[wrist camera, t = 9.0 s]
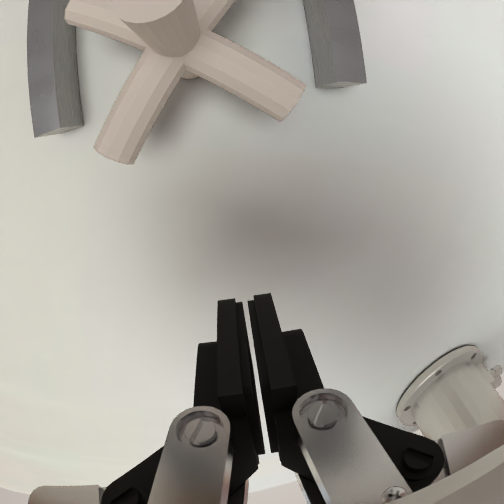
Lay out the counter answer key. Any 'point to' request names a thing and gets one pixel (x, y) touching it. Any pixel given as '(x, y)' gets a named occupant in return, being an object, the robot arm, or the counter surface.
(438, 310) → the counter surface
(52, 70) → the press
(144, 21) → the pipe connector
